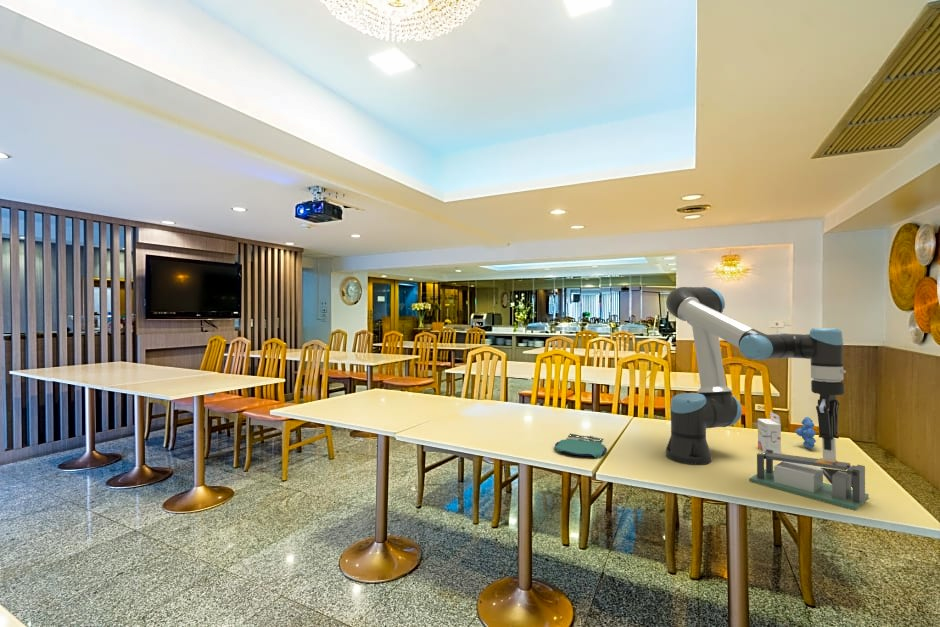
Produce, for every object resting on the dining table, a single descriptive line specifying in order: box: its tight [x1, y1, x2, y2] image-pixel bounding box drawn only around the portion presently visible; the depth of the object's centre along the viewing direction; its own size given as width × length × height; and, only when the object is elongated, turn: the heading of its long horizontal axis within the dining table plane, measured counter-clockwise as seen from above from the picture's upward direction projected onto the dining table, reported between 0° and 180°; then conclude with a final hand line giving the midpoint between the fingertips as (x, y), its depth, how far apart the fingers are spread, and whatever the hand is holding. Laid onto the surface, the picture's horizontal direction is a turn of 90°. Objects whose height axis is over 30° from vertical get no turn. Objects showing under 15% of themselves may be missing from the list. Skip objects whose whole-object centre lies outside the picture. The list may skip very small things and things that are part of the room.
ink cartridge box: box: [757, 411, 782, 454], centre depth 170 cm, size 9×5×15 cm, turn 168°
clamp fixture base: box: [748, 449, 870, 511], centre depth 133 cm, size 26×14×10 cm, turn 37°
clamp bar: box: [760, 451, 852, 471], centre depth 134 cm, size 22×5×2 cm, turn 37°
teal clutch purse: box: [554, 433, 608, 459], centre depth 176 cm, size 20×30×2 cm, turn 156°
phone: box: [820, 467, 853, 489], centre depth 142 cm, size 8×1×15 cm
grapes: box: [795, 416, 817, 450], centre depth 175 cm, size 12×7×12 cm, turn 153°
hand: (829, 460), depth 129 cm, fingers closed
